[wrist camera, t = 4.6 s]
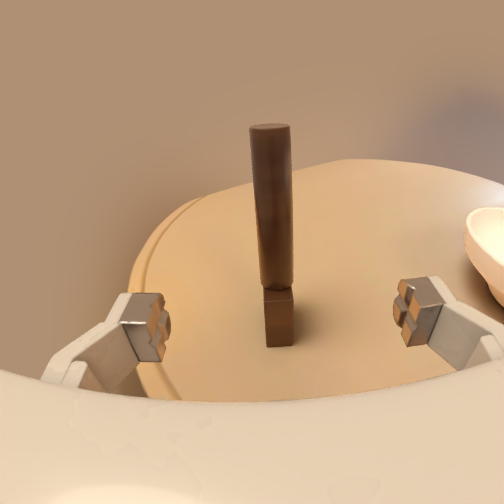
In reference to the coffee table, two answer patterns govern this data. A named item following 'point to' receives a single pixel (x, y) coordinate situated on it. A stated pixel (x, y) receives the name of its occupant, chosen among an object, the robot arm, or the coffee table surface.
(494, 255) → the bowl
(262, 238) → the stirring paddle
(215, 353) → the coffee table surface
